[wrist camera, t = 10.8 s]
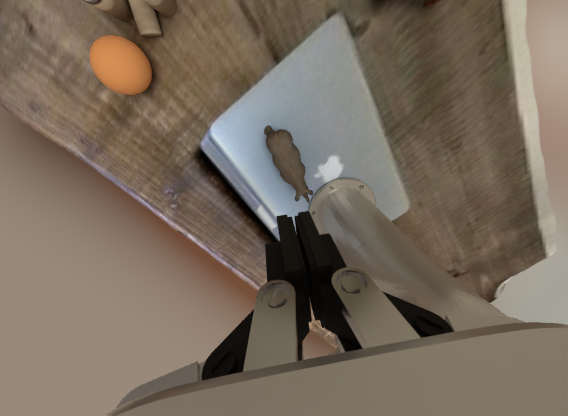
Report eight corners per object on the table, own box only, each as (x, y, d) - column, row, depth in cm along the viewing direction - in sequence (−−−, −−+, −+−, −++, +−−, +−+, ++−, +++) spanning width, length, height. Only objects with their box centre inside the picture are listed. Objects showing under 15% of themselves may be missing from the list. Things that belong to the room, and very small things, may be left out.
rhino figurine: (294, 200, 41) (299, 216, 36) (259, 129, 35) (259, 136, 29) (314, 191, 41) (323, 206, 35) (283, 117, 34) (287, 122, 29)
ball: (125, 15, 24) (164, 72, 27) (128, 42, 29) (161, 88, 32) (67, 35, 22) (115, 95, 25) (82, 61, 27) (121, 108, 30)
